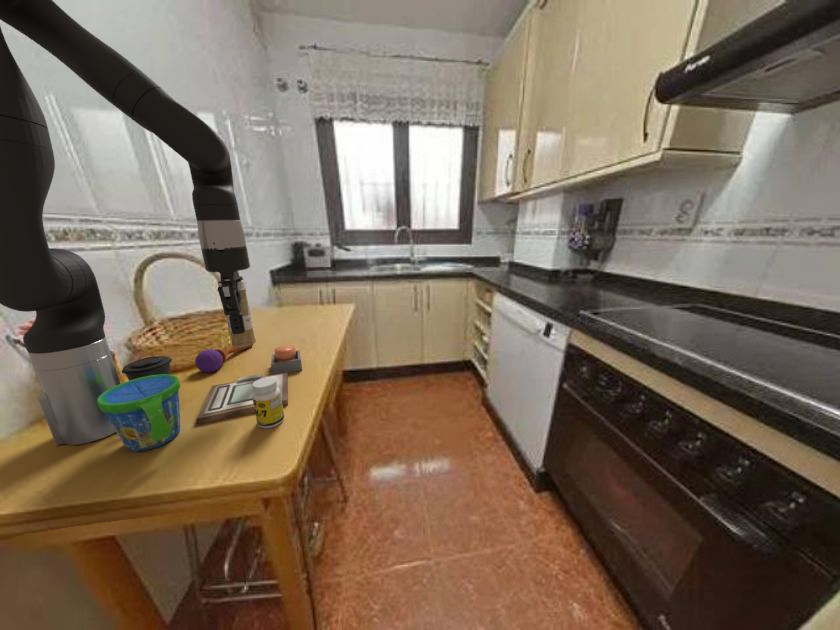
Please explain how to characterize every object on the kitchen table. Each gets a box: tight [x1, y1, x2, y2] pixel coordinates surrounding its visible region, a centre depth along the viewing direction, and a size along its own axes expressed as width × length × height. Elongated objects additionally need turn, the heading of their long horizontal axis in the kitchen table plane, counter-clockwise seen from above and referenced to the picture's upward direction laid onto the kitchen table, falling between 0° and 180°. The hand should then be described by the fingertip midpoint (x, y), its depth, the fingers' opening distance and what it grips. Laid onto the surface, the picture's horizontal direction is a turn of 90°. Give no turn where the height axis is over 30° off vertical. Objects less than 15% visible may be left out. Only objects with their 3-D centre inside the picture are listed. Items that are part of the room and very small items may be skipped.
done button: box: [274, 345, 297, 362], centre depth 82 cm, size 5×5×4 cm
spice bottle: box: [225, 279, 257, 347], centre depth 64 cm, size 5×5×14 cm
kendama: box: [194, 344, 254, 373], centre depth 89 cm, size 6×6×20 cm
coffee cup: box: [121, 355, 172, 381], centre depth 66 cm, size 8×8×10 cm
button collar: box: [270, 349, 303, 375], centre depth 83 cm, size 7×7×3 cm
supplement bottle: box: [252, 377, 285, 429], centre depth 59 cm, size 5×5×8 cm
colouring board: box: [195, 373, 289, 425], centre depth 69 cm, size 16×14×2 cm
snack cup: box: [97, 374, 181, 453], centre depth 54 cm, size 16×10×10 cm
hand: (240, 329), depth 65 cm, fingers closed on spice bottle, 4 cm apart
